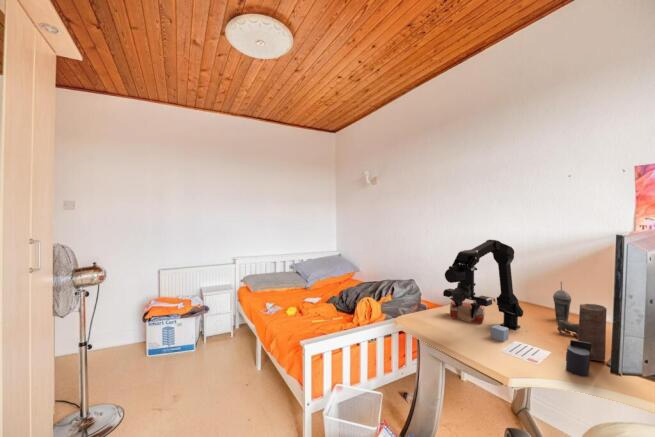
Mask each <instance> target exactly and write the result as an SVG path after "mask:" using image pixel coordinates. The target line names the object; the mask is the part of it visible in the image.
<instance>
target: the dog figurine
mask: <svg viewBox="0 0 655 437" xmlns="http://www.w3.org/2000/svg"><path fill="white" fill-rule="evenodd" d="M559 318H562V317H558V318H557V320H558V321H557V320H556V321H557V324H556V325H557V331H558V332H559V334H560V335H561V336H565V335H564V333H566V334H569V335H571V334H572V335H573V336H574V337H575V338H577V339H578V336H579V323H570V322H565V319H564V318H562V319H563V320H559ZM563 332H564V333H563Z"/></svg>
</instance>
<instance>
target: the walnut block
mask: <svg viewBox="0 0 655 437" xmlns="http://www.w3.org/2000/svg"><path fill="white" fill-rule="evenodd" d="M471 313H472V307H471V306H467V305H461V306H458V318H459V319H458V320H461V319H462V321H466V322H468V323H469V322H471V321H472V320H474V319H475V317H474V318H473V319H472V317H471Z"/></svg>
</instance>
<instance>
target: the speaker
mask: <svg viewBox="0 0 655 437" xmlns="http://www.w3.org/2000/svg"><path fill="white" fill-rule="evenodd" d="M590 353H591V343H588V342H582V341H578V340H575V339H570V342H569V345H567V346H566V353H565V364H566V365H565V370H566V372H568V373H570V374H572V375H575V376H578V377H582V378H585V377H589V372H590V364H591V360H590Z"/></svg>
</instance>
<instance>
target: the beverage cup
mask: <svg viewBox="0 0 655 437" xmlns="http://www.w3.org/2000/svg"><path fill="white" fill-rule="evenodd" d="M552 298H553V302H554V303H553V304H554V312H555V313H554V314H555V320H556V321H557V322H558V320H557V318H558V317H562V318H564V319H565V322H567V323H569V322H568V321H569V316H570V308H571V307H570V306H571V304H572V303H571V302H572V297H571V295H570V294H569V293H568V292H567V291H565V290H563V282H562V281H560V290H556V291H555V292H554V293H553V296H552ZM562 318H559V320H563V319H562Z"/></svg>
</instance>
